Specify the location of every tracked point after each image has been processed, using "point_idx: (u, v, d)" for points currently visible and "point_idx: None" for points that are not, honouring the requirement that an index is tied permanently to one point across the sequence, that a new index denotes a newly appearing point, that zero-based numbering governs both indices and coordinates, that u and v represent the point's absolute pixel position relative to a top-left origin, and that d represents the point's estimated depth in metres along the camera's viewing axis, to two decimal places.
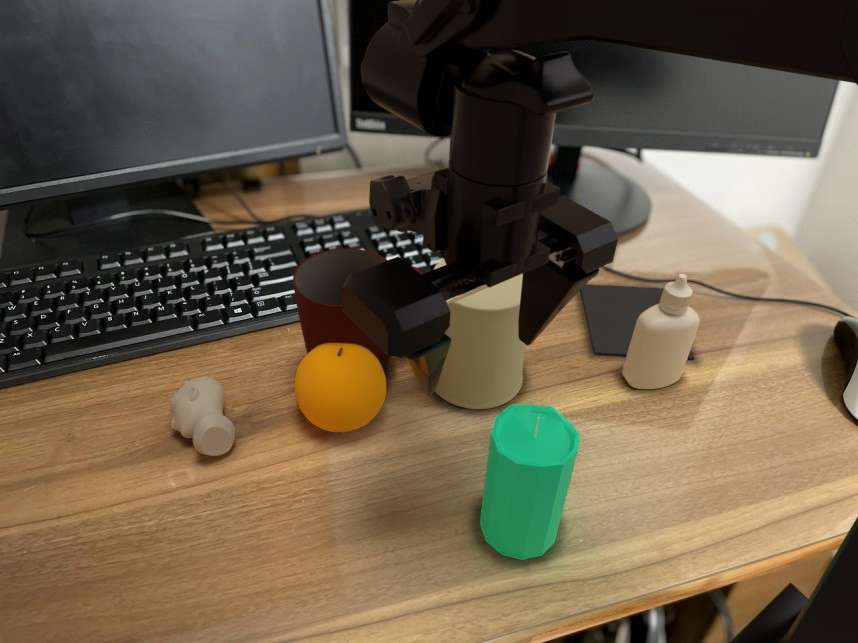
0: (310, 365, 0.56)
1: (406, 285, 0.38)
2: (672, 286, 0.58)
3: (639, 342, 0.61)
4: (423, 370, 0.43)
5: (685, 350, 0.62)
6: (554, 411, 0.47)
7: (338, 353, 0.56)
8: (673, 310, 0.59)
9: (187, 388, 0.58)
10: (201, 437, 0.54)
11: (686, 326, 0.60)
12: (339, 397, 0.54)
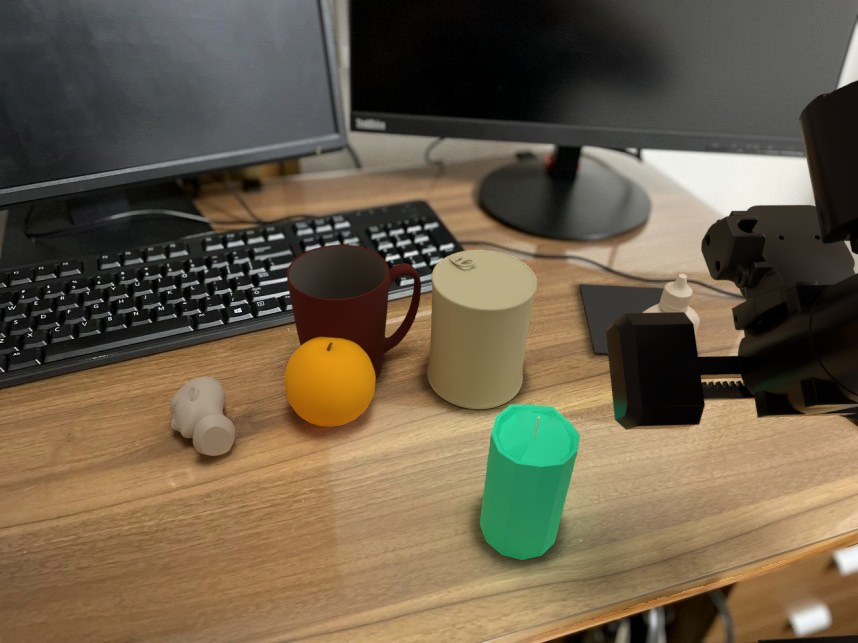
0: (299, 359, 0.56)
1: (675, 375, 0.35)
2: (672, 286, 0.58)
3: None
4: None
5: None
6: (554, 411, 0.47)
7: (327, 347, 0.56)
8: (673, 310, 0.59)
9: (187, 388, 0.58)
10: (201, 437, 0.54)
11: None
12: (326, 391, 0.55)
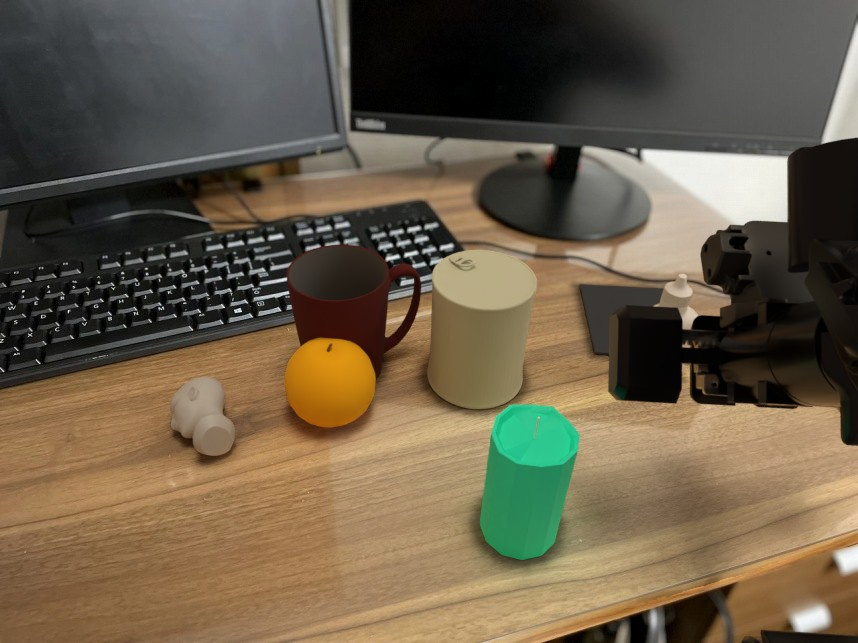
0: (299, 360, 0.56)
1: (660, 362, 0.42)
2: (672, 286, 0.58)
3: None
4: None
5: None
6: (554, 411, 0.47)
7: (327, 349, 0.56)
8: None
9: (187, 388, 0.58)
10: (201, 437, 0.54)
11: (686, 326, 0.60)
12: (326, 392, 0.55)
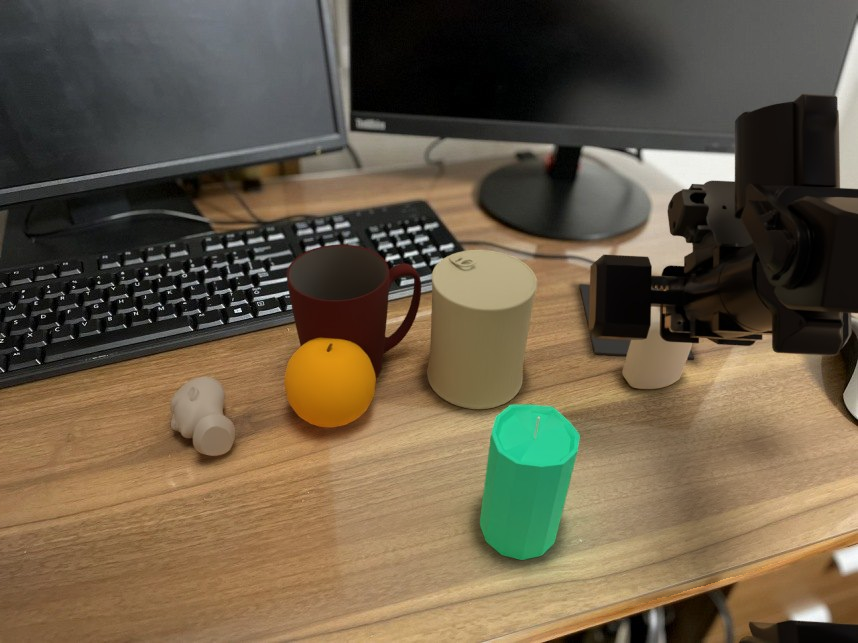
0: (299, 360, 0.56)
1: (632, 302, 0.49)
2: None
3: (639, 342, 0.61)
4: None
5: (685, 350, 0.62)
6: (554, 411, 0.47)
7: (327, 349, 0.56)
8: None
9: (187, 388, 0.58)
10: (201, 437, 0.54)
11: None
12: (326, 392, 0.55)
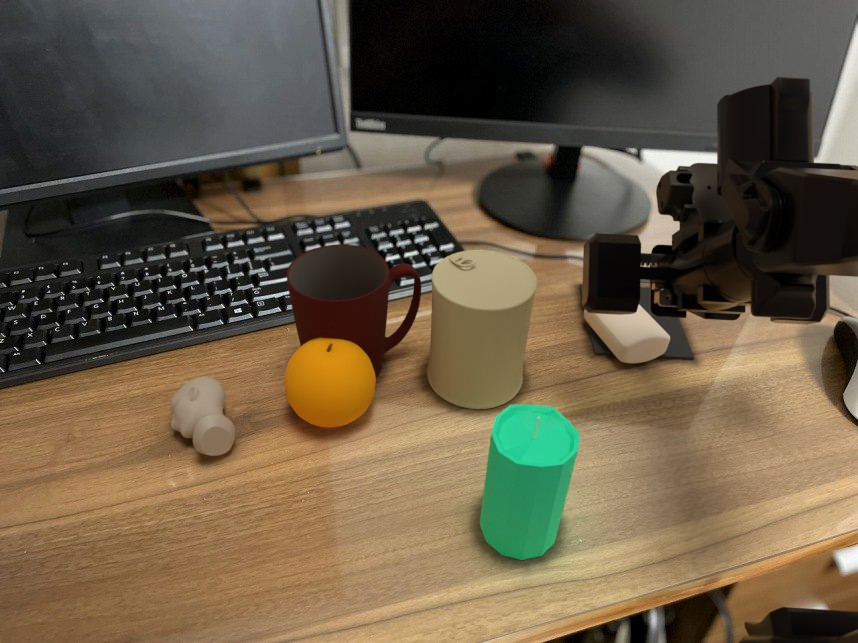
0: (299, 360, 0.56)
1: (623, 277, 0.52)
2: None
3: (594, 319, 0.68)
4: None
5: (639, 309, 0.68)
6: (554, 411, 0.47)
7: (327, 349, 0.56)
8: None
9: (187, 388, 0.58)
10: (201, 437, 0.54)
11: None
12: (326, 393, 0.55)
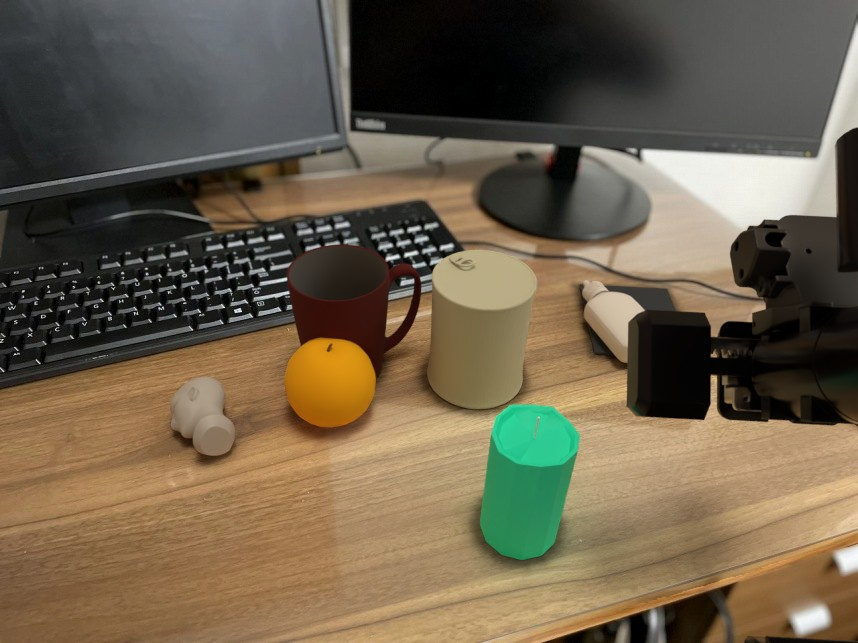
0: (299, 360, 0.56)
1: (686, 374, 0.37)
2: None
3: (594, 319, 0.68)
4: None
5: (639, 309, 0.68)
6: (554, 411, 0.47)
7: (327, 349, 0.56)
8: (595, 290, 0.71)
9: (187, 388, 0.58)
10: (201, 437, 0.54)
11: (615, 292, 0.70)
12: (326, 393, 0.55)
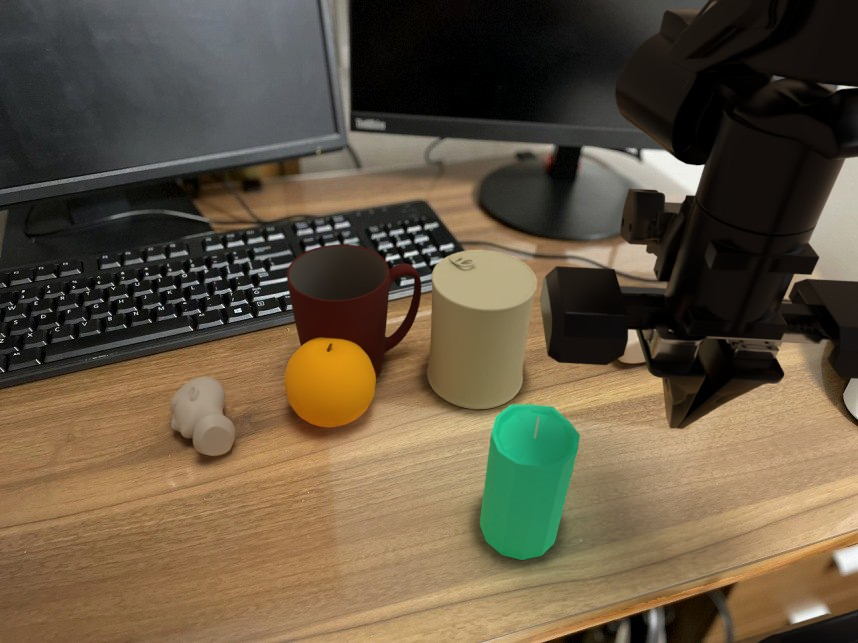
0: (299, 360, 0.56)
1: (598, 296, 0.36)
2: None
3: None
4: (669, 397, 0.40)
5: None
6: (554, 411, 0.47)
7: (327, 348, 0.56)
8: None
9: (187, 388, 0.58)
10: (201, 437, 0.54)
11: None
12: (326, 392, 0.55)
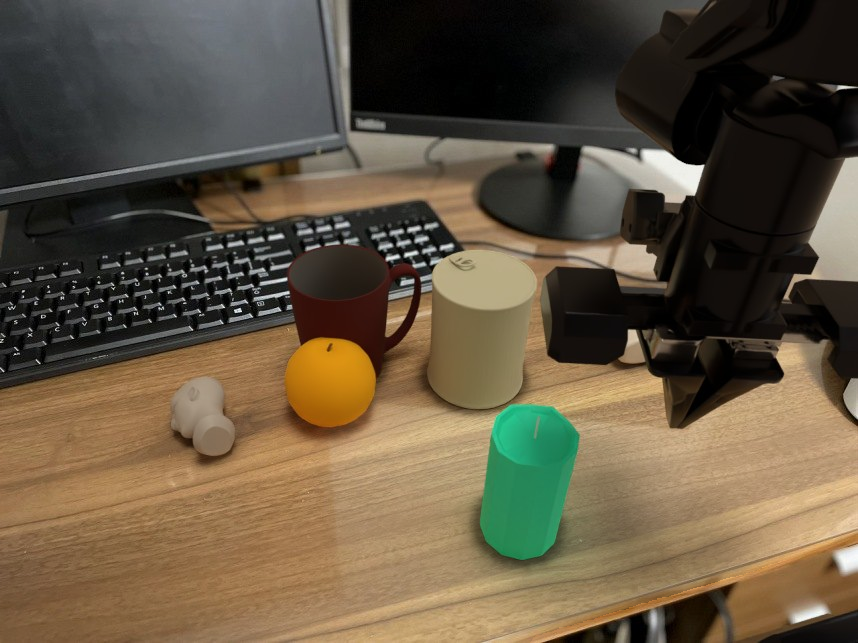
0: (299, 359, 0.56)
1: (598, 296, 0.36)
2: None
3: None
4: (669, 397, 0.40)
5: None
6: (554, 411, 0.47)
7: (328, 348, 0.56)
8: None
9: (187, 388, 0.58)
10: (201, 437, 0.54)
11: None
12: (326, 392, 0.55)
